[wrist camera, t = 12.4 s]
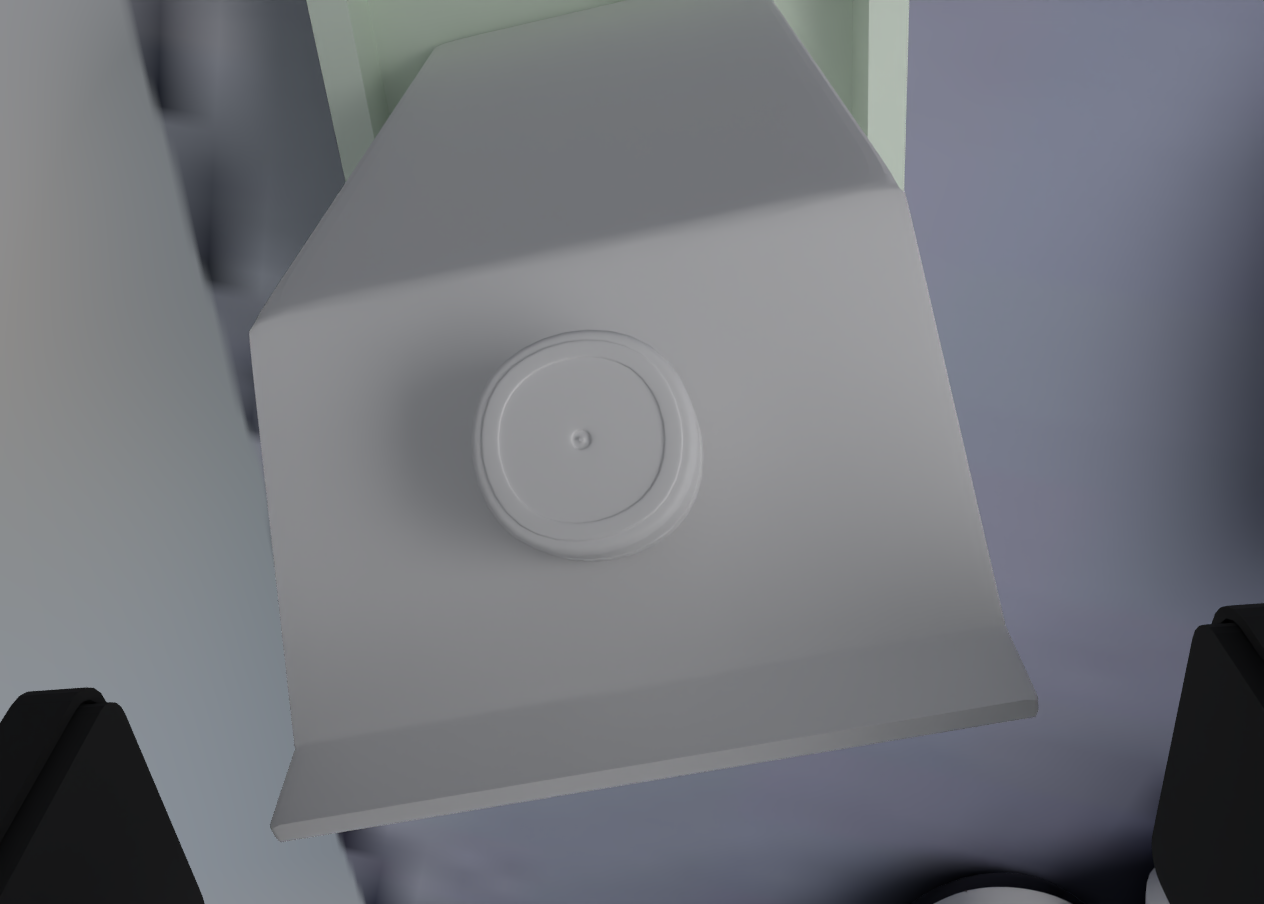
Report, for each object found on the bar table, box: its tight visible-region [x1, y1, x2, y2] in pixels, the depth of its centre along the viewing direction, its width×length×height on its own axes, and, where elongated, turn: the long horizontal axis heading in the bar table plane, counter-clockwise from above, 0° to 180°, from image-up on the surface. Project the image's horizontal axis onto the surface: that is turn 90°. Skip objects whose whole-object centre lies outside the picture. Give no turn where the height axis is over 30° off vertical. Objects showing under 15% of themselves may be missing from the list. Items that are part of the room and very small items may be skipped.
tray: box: [306, 0, 909, 191], centre depth 27 cm, size 15×12×2 cm
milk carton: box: [249, 0, 1038, 842], centre depth 19 cm, size 7×7×19 cm
